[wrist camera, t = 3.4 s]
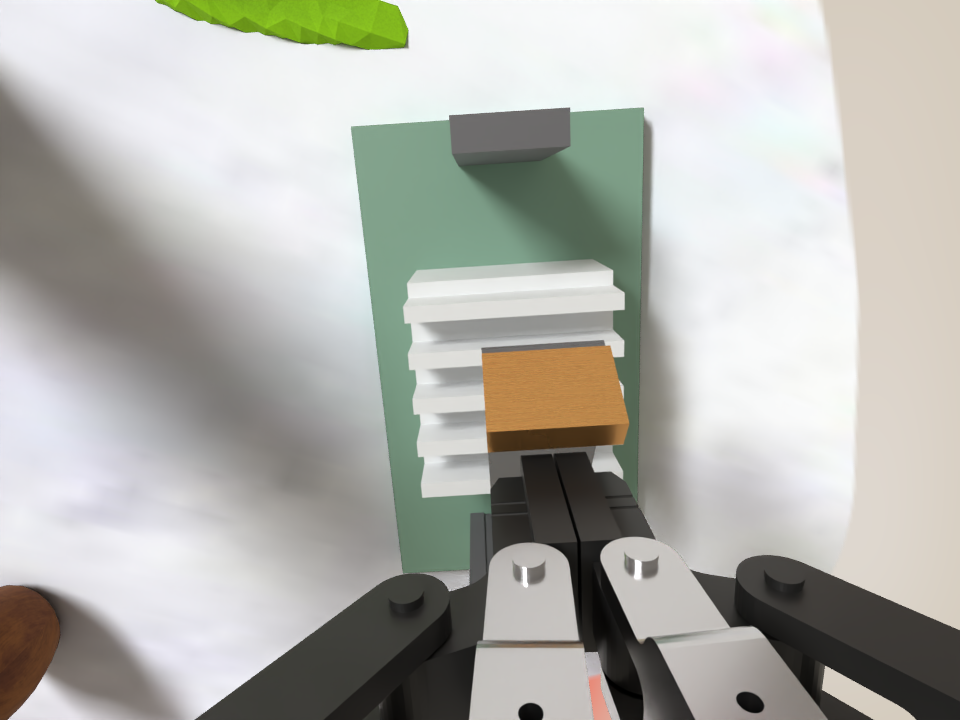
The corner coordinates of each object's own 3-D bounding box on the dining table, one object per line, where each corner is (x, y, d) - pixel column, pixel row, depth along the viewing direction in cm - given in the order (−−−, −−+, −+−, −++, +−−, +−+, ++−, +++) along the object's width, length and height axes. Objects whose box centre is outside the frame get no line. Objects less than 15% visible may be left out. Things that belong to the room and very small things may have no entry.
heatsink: (404, 563, 35) (379, 701, 26) (355, 128, 28) (294, 95, 19) (631, 549, 35) (691, 683, 26) (638, 110, 28) (722, 67, 19)
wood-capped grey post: (560, 590, 27) (567, 647, 26) (493, 594, 27) (496, 651, 26) (614, 327, 13) (639, 423, 11) (471, 336, 13) (476, 432, 11)
